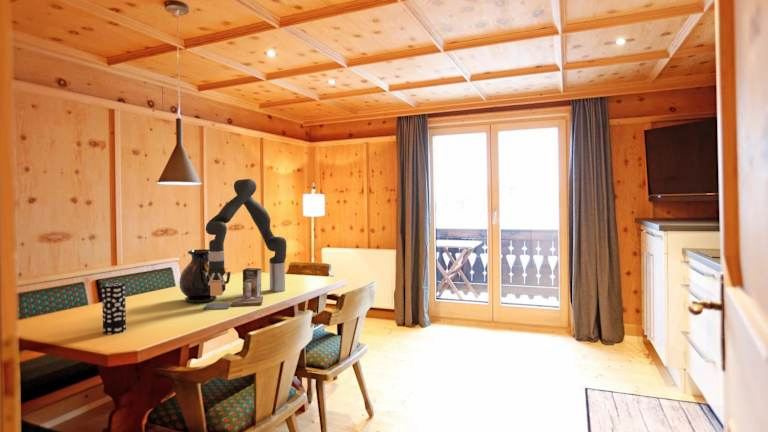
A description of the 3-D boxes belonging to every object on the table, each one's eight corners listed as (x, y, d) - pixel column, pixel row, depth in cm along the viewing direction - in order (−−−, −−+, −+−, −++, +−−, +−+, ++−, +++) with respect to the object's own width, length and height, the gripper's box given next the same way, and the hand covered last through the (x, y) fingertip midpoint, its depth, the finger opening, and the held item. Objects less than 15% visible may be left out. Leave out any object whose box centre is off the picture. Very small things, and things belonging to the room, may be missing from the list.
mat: (207, 304, 234) (207, 303, 234) (230, 303, 236) (230, 302, 236) (202, 310, 222) (202, 309, 222) (227, 309, 225) (227, 307, 225)
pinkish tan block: (212, 293, 231) (212, 280, 231) (223, 293, 232) (223, 280, 232) (210, 295, 226) (210, 282, 225) (221, 295, 227) (221, 281, 227)
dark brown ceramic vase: (221, 303, 237) (220, 251, 236) (177, 306, 230) (176, 253, 229) (221, 295, 257) (221, 247, 256) (181, 298, 250) (180, 249, 249)
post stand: (235, 300, 244) (234, 281, 244) (263, 299, 247) (262, 280, 247) (231, 306, 229) (231, 286, 229) (261, 305, 233) (261, 285, 232)
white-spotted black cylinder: (109, 328, 190) (108, 283, 189) (129, 328, 191) (128, 282, 190) (98, 334, 182) (97, 286, 181) (119, 334, 183) (118, 286, 182)
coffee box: (242, 297, 251) (241, 269, 251) (246, 295, 258) (246, 267, 257) (257, 297, 251) (257, 269, 250) (261, 295, 257) (261, 268, 256)
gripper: (231, 258, 234) (232, 289, 234) (203, 259, 230) (203, 291, 231) (230, 260, 226) (230, 292, 227) (200, 261, 223) (200, 294, 224)
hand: (216, 291), depth 229 cm, fingers closed on pinkish tan block, 5 cm apart
